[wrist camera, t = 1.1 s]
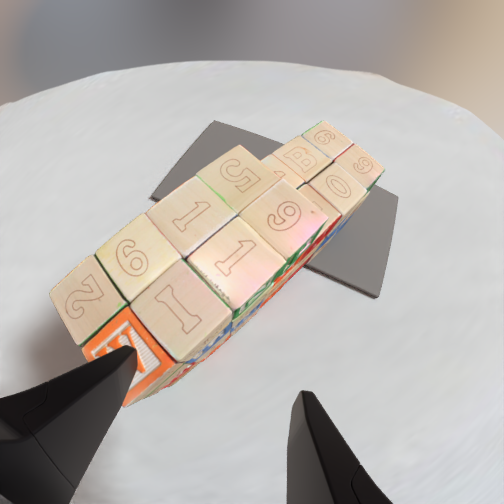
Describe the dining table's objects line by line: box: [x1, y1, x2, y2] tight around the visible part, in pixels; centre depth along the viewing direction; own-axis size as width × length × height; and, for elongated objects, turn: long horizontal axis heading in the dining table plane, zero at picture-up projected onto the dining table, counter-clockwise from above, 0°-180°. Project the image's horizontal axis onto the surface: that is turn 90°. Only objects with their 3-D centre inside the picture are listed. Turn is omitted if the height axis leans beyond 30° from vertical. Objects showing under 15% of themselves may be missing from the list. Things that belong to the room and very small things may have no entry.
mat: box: [152, 120, 398, 298], centre depth 28 cm, size 13×24×1 cm, turn 65°
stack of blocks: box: [49, 121, 385, 407], centre depth 19 cm, size 21×6×12 cm, turn 134°
